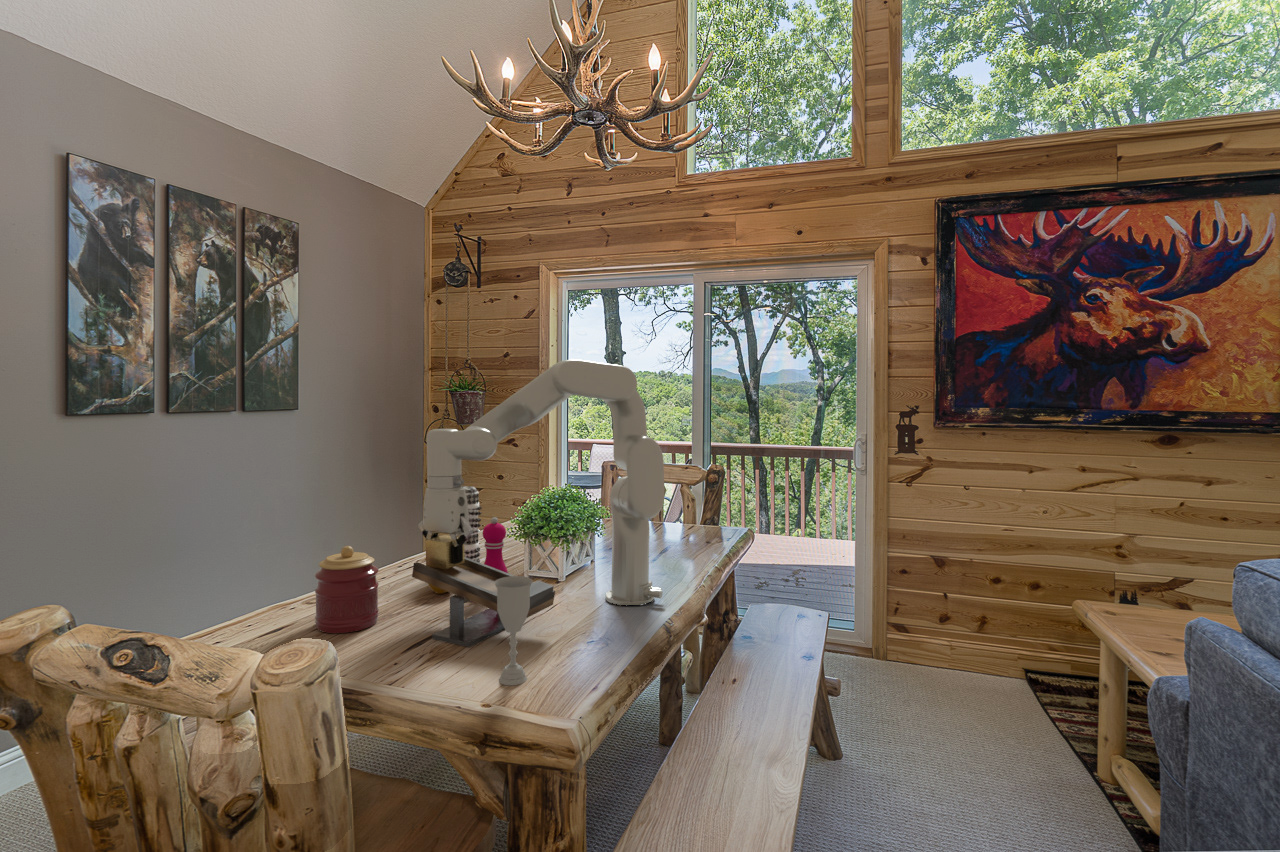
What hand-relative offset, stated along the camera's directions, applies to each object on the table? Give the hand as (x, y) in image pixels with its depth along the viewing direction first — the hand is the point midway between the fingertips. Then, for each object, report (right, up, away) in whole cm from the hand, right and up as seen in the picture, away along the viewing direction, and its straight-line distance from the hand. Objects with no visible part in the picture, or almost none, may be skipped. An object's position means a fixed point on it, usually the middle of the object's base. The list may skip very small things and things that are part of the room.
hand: (445, 560), depth 146 cm
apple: (-7, -13, +21) cm, 26 cm away
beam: (+10, -6, -5) cm, 12 cm away
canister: (-21, -14, -3) cm, 25 cm away
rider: (0, -1, 0) cm, 1 cm away
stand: (+9, -14, -4) cm, 18 cm away
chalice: (+21, -16, -30) cm, 40 cm away
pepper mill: (+6, -13, +22) cm, 26 cm away
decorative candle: (-7, -12, +41) cm, 43 cm away
